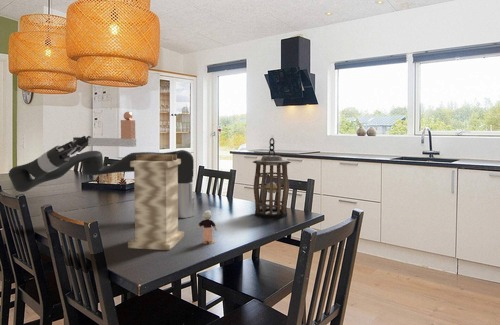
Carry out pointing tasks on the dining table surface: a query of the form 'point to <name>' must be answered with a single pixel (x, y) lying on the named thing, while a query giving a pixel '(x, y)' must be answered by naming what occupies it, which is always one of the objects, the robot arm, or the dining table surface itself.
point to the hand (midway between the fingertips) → (88, 138)
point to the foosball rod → (125, 140)
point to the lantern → (271, 186)
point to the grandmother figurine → (207, 228)
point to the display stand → (156, 202)
